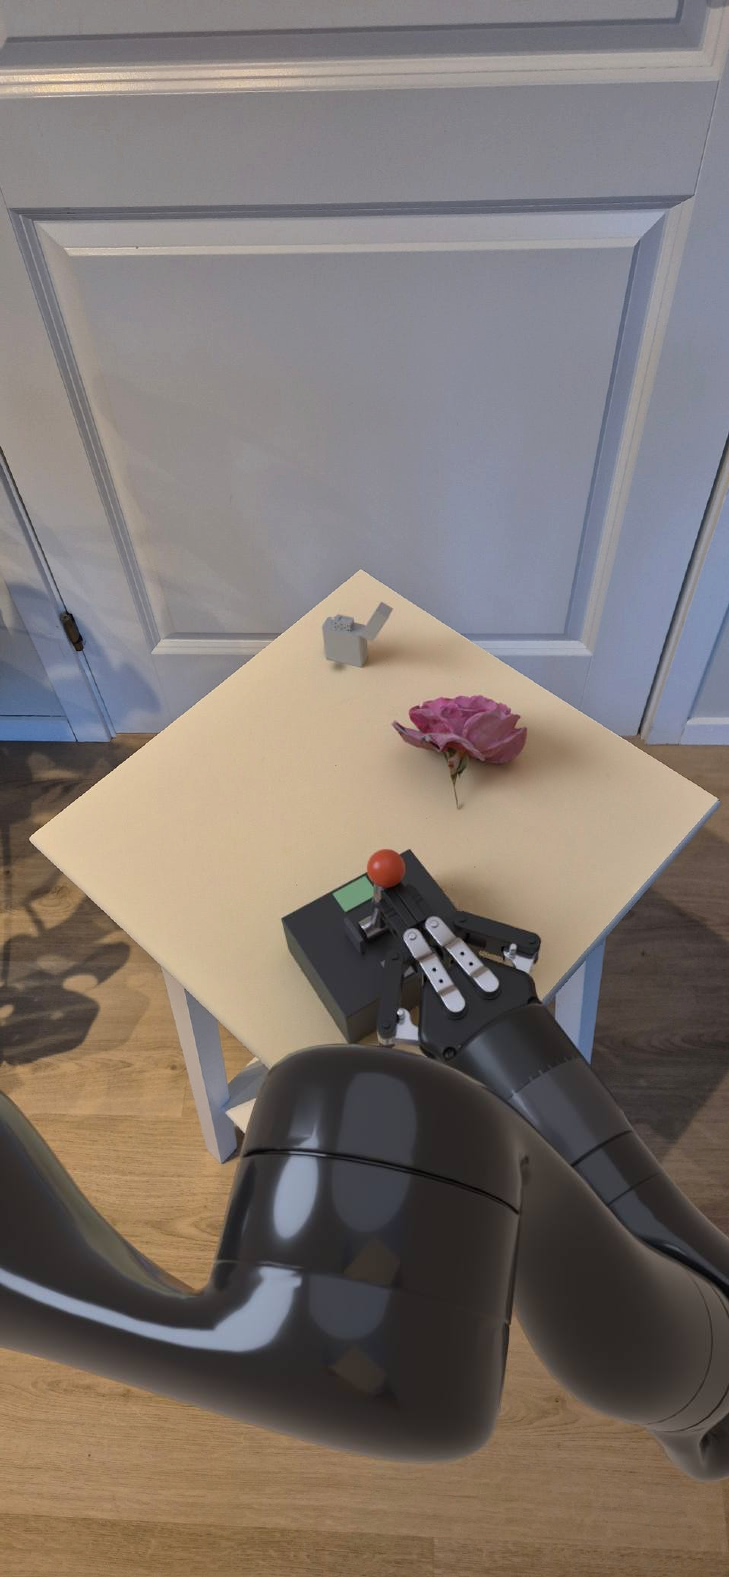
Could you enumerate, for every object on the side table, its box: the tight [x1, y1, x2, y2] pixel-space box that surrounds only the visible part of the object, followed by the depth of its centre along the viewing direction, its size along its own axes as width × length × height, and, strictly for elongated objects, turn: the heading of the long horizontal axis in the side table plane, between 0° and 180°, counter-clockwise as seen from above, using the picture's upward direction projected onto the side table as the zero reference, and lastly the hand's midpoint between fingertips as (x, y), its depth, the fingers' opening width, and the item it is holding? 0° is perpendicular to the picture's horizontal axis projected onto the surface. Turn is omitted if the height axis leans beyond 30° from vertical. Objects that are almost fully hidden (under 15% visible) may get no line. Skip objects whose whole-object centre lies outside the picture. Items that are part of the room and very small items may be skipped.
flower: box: [390, 694, 528, 810], centre depth 90 cm, size 11×10×10 cm
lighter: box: [321, 601, 394, 668], centre depth 99 cm, size 7×2×8 cm, turn 69°
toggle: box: [357, 848, 405, 941], centre depth 72 cm, size 3×3×12 cm
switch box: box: [280, 848, 481, 1044], centre depth 78 cm, size 12×10×7 cm
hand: (389, 891), depth 69 cm, fingers closed
